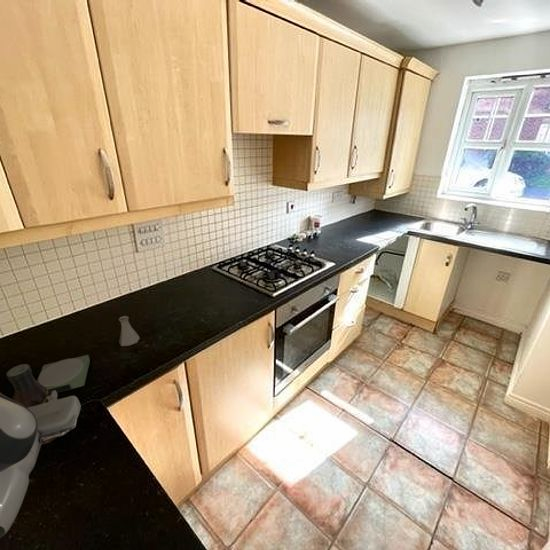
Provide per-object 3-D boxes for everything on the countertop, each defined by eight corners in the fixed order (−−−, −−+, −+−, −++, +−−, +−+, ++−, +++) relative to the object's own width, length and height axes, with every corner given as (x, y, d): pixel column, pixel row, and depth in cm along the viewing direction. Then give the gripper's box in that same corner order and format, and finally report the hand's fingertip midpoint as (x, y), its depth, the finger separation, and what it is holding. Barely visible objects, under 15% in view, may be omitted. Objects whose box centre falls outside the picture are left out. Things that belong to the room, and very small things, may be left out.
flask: (140, 333, 118) (134, 311, 114) (139, 343, 112) (133, 321, 108) (120, 337, 116) (113, 315, 112) (118, 348, 110) (111, 325, 106)
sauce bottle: (67, 433, 73) (39, 369, 65) (36, 451, 69) (3, 386, 61) (59, 418, 77) (32, 356, 69) (29, 435, 73) (-3, 371, 65)
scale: (33, 400, 89) (30, 392, 87) (46, 370, 100) (42, 363, 99) (83, 386, 93) (81, 379, 92) (90, 360, 104) (87, 353, 103)
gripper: (69, 420, 60) (81, 374, 71) (-65, 459, 53) (-28, 401, 65) (78, 441, 62) (88, 394, 74) (-49, 481, 55) (-16, 422, 67)
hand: (33, 398), depth 69 cm, fingers closed on sauce bottle, 6 cm apart
